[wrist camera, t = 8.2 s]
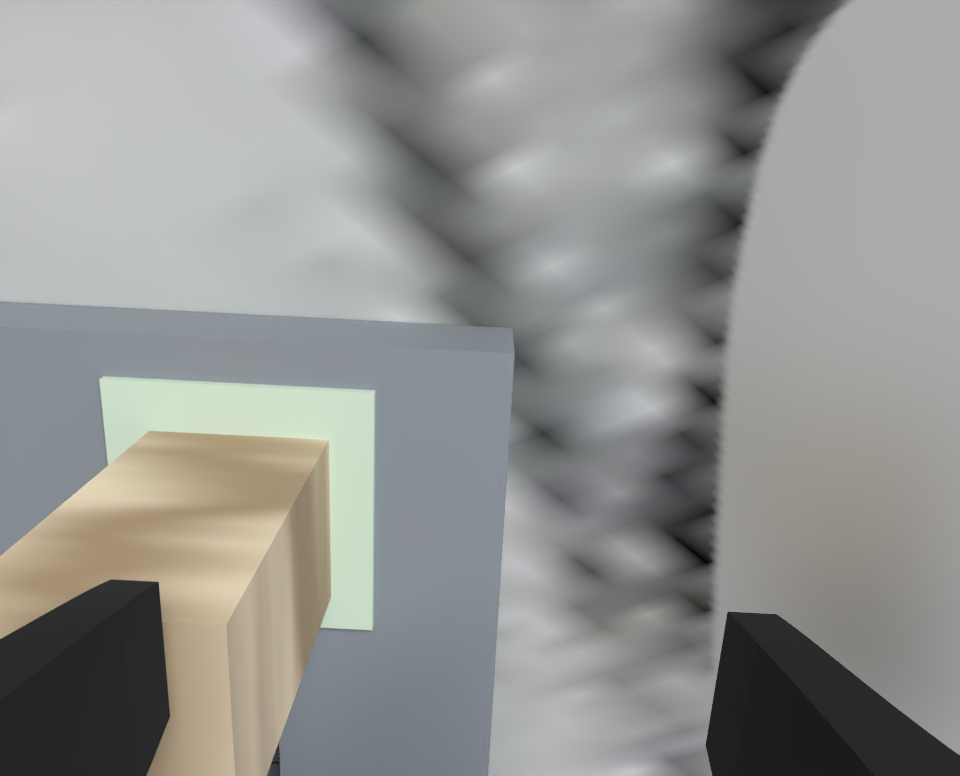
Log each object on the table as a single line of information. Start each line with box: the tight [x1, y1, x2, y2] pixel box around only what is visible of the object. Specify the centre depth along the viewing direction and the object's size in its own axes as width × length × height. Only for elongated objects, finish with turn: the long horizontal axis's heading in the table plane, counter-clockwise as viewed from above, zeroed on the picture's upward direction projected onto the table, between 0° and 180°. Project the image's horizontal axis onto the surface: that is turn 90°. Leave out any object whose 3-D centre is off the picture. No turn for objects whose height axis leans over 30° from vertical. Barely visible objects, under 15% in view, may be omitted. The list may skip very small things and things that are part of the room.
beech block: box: [0, 431, 331, 776], centre depth 15 cm, size 4×4×7 cm
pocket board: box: [0, 302, 515, 776], centre depth 21 cm, size 14×16×3 cm
